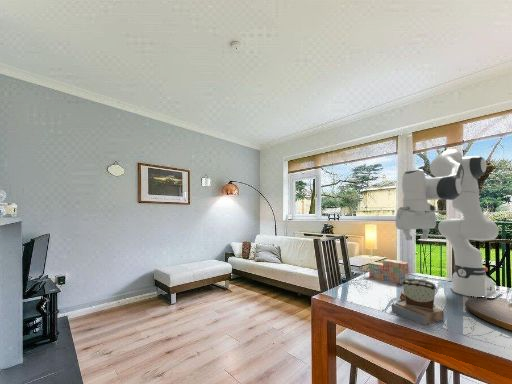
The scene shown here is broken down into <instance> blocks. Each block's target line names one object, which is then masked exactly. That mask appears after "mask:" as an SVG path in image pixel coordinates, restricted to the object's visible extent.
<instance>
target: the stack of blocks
mask: <svg viewBox="0 0 512 384" xmlns="http://www.w3.org/2000/svg"><path fill="white" fill-rule="evenodd" d="M368 272H369V278H372V279H376V280H381V281H384V282H386V281H387V282H391V283H395V284H400V285H401V283H402V280H403V279H410V278H409V277H410V275H409V262H405V261H400V260H393V259H389V258H388V259H387V258H386V259H384V260H382V262H377V261H376V262H375V261H371V262H368Z"/></svg>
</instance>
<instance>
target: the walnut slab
mask: <svg viewBox="0 0 512 384" xmlns="http://www.w3.org/2000/svg"><path fill="white" fill-rule="evenodd" d="M401 302H402V303H397V302H396V303H397V304H396V305H399V306H401V307H404V308H406V309H409V310H411V311H414V312H416V313H419V314H421V315H424V316H426V319H427V325H428V324H431V323H435V322H439V321H443V320H445V316H444V314H445V313H444V310H443V309H440V308H437V307H435V306H434V309H433V310H429V309H424V308H419V307H414V306H410V305H406V302H403V301H401Z"/></svg>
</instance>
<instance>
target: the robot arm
mask: <svg viewBox="0 0 512 384" xmlns="http://www.w3.org/2000/svg"><path fill="white" fill-rule="evenodd" d="M486 170H487V161H486V160H485V158H484V157H482V156H478V155H473V156H464V157H463V155H462V153H461V152H460V151H459V150H457V149H447V150H445V151H443V152H441V153H439V154H438V155H437V156H436V157H435V158H434V159H433V160H432V161H431V162H430V164H429V171H430V173H431V175H433V176H434V177H428V178H426V175H425V171H424V170H423V169H412V170H406V171H405V172H403V173H402V181H401V182H402V183H401V184H402V185H401V186H402V187H401V191H402V193H403V198H402V206H400V207H399V208H397V211H396V212H397V213H396V215H395V228H396V229H397V230H402V232H403V233H404V236H405V240H406V241H413V236H412V235H411V234H410V233H411V230H422V234H421V235H420V239H421V240H428V236H429V233H430V229H435V228H436V227H437V226H438V227H437V229H438V232H439V233H440V234H441V236H442V237H444V238H445V239H446V240H447V241H448V242H449V243H450V245H451V247H452V250H453V255H454V256H453V257H454V264H453V269H454V273H452V280H451V281H452V285H450V286H449V289H451V290H452V291H453V292H454V293H456V294H459V295H463V296H466V297H471V296H472V298H477V297H482V296H484V297H492V296H493V297H495V296H497V295H498V294H500V293H502V292H501V291H500V290H496V287H495V285H496V284H495V282H494V281H493V280H492V279H491V278H490V277H489V276H488V275H487V273H486V272H488V270H489V269H488V267H485V266H484V265H483V254H482V252H481V251H480V250H479V248H476V247H475V246H473V245H472V244H471V242H470V240H472V241H481V242H482V241H484V242H485V241H494V240H495V239H496V238H498V235H499V234H500V232H499V227H498V225H497V223H495V222H494V221H493V220H491V219H489V218H488V217H487V216H486V215H485V214H484V212H483V211H482V208H481V204H480V203H481V202H480V189H479V183H478V180H479V179H480V177H483V176H484V174H485V173H486V172H487V171H486ZM436 200H438V201H439V200H444V201H445V200H446V201H448V200H449V201H452V207H453V209H455V210H456V211H458V212H460V213H461V214H462V215H463V218H445V219H442V220H441V221H440V222H439V223H438V225H437V216H436V213H435V212H436V211H437V209H436V206H435V205H433V204H431V203H429V202H428V201H436ZM473 296H474V297H473Z"/></svg>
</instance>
